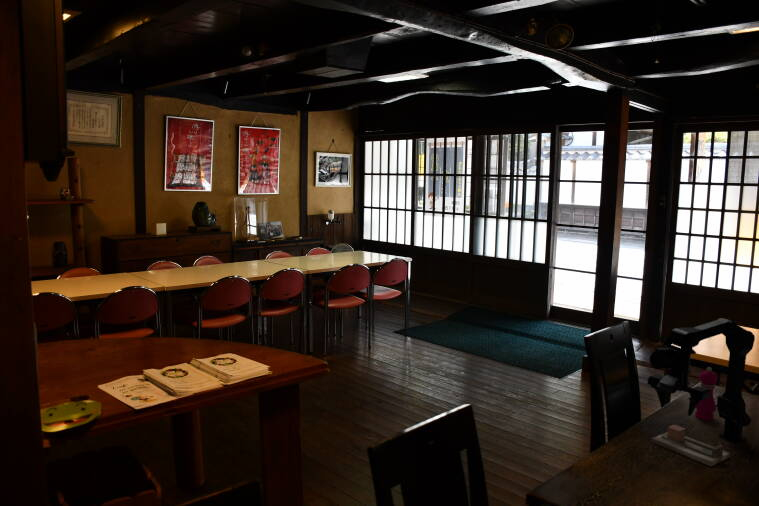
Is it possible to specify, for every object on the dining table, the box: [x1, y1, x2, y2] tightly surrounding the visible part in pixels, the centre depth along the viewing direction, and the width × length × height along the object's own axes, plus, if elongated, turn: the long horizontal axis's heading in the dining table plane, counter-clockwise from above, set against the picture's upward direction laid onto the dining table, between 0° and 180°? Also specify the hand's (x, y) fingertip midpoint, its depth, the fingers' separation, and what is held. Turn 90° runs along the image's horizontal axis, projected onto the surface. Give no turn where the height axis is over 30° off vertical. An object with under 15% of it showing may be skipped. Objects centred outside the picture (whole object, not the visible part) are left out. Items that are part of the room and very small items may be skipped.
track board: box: [651, 431, 731, 467], centre depth 199 cm, size 12×20×4 cm, turn 34°
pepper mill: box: [694, 366, 718, 421], centre depth 226 cm, size 7×7×20 cm
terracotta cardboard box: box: [667, 424, 687, 442], centre depth 203 cm, size 4×4×4 cm
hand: (675, 411), depth 200 cm, fingers open, 9 cm apart
